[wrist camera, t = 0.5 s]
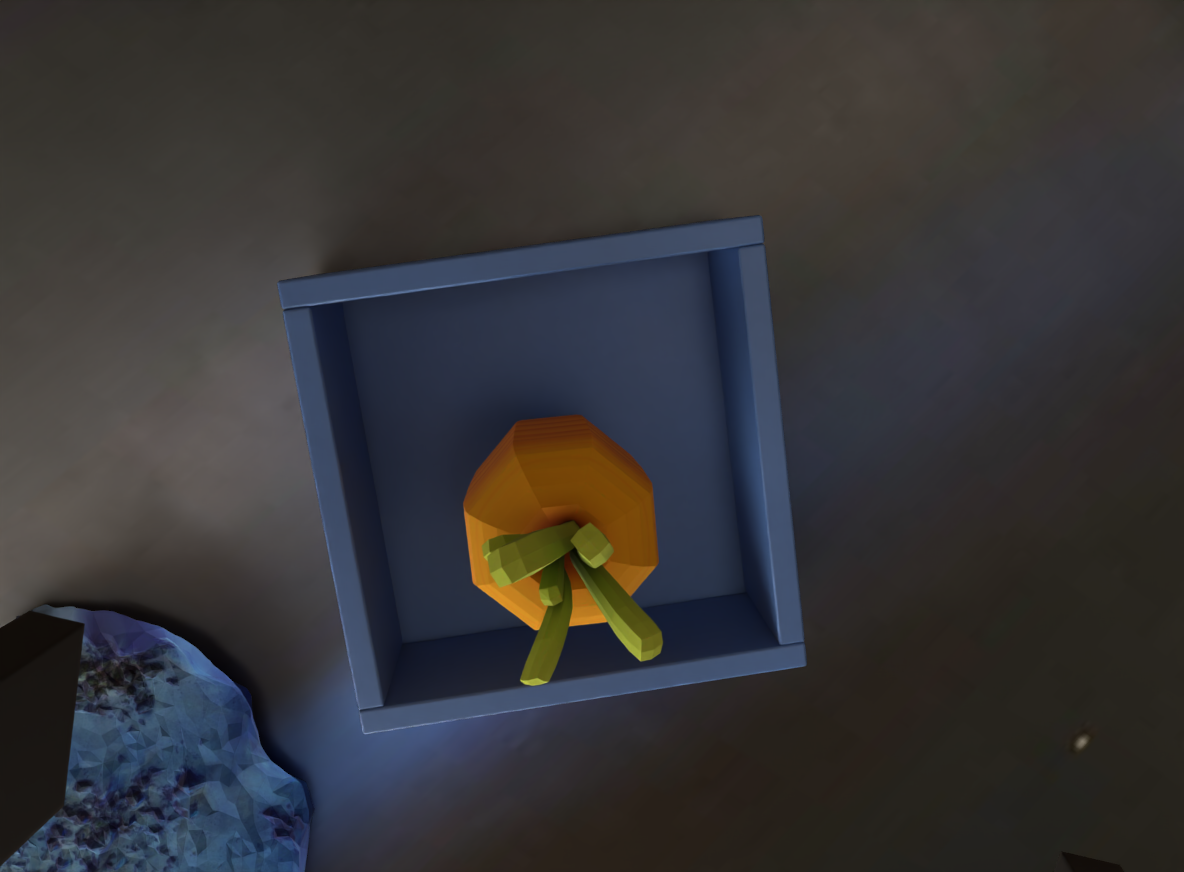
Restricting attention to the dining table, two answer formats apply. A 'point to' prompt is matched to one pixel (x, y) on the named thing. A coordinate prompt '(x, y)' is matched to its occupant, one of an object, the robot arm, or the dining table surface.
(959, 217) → the dining table surface
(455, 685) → the bin
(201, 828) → the blue flat piece
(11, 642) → the robot arm
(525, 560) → the carrot
